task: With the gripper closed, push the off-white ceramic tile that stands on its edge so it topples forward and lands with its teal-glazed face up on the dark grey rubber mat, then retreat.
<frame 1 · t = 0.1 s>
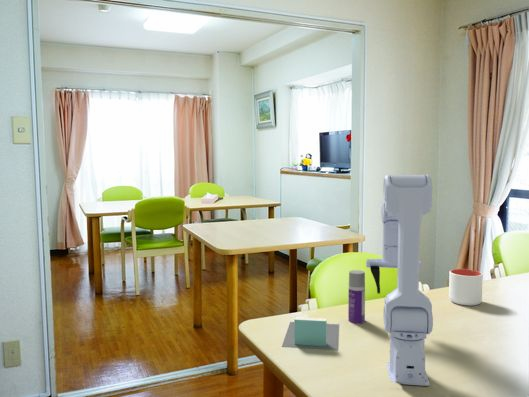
hand: (392, 293, 127), 10 cm above the table, fingers open, 7 cm apart
mat: (312, 337, 122), on the table
tile: (310, 343, 116), point 1 cm above the table, touching mat
container: (356, 323, 133), on the table
cup: (465, 302, 151), on the table
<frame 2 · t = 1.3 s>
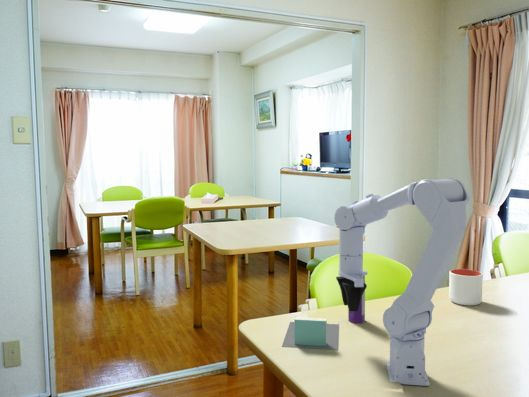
hand: (350, 307, 113), 10 cm above the table, fingers open, 4 cm apart
nothing on the table moved.
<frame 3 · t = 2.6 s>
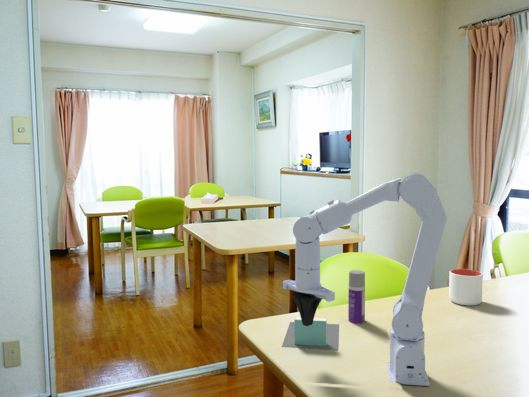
hand: (307, 324, 106), 9 cm above the table, fingers closed
nothing on the table moved.
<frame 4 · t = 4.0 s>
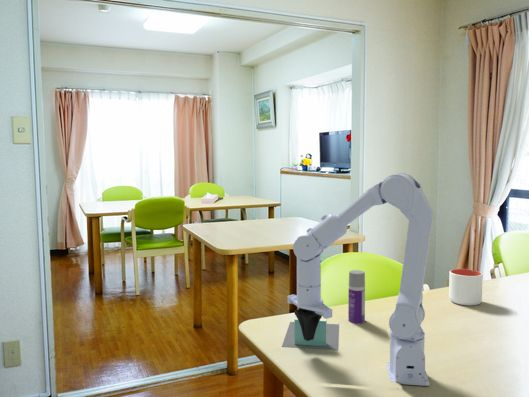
hand: (308, 339, 110), 4 cm above the table, fingers closed
nothing on the table moved.
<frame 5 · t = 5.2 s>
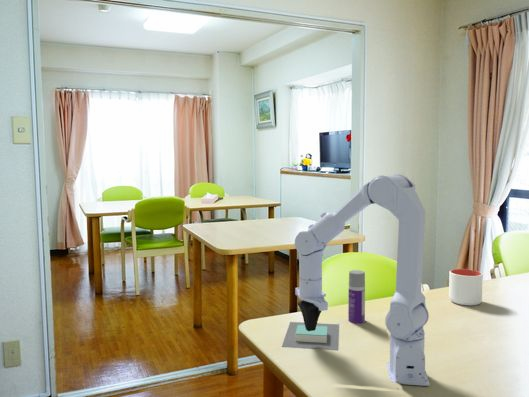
hand: (310, 329, 116), 4 cm above the table, fingers closed
tile: (310, 338, 117), point 2 cm above the table, tilted 90°, touching mat
everything else where it was.
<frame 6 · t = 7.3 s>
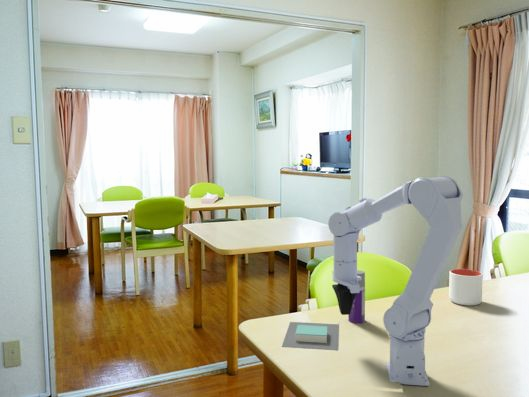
hand: (345, 313, 113), 9 cm above the table, fingers closed
nothing on the table moved.
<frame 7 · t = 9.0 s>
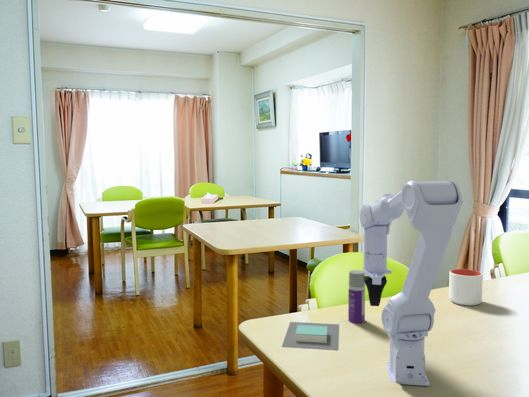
hand: (374, 305, 115), 10 cm above the table, fingers closed
nothing on the table moved.
at the end: tile tilted 90°; tile inside the target area on the mat (4.9 cm from its centre), point 1.6 cm above the mat's base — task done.
